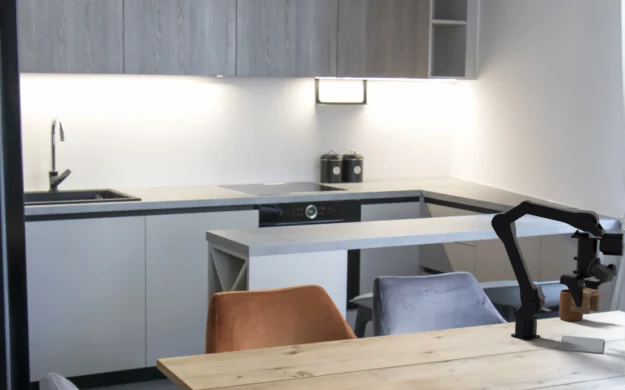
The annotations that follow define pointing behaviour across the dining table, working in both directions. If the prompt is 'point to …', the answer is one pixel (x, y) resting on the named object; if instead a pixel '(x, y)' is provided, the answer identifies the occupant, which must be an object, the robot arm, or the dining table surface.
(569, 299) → the mug
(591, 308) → the stool
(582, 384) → the dining table surface
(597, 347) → the mat
